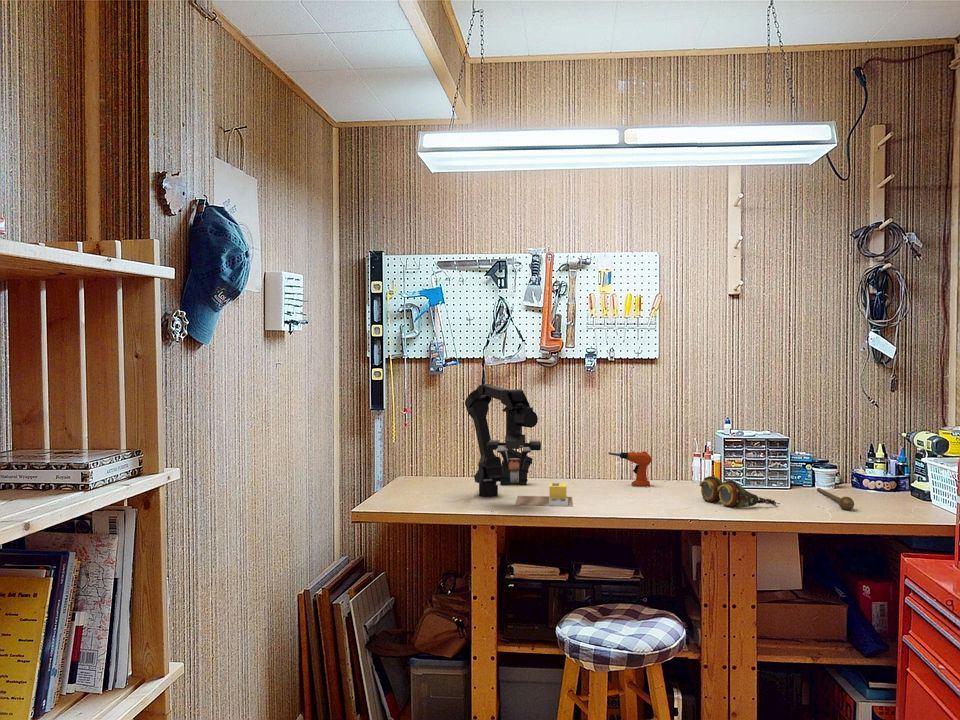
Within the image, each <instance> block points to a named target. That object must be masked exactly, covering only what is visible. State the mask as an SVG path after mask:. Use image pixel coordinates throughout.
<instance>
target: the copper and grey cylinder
mask: <svg viewBox="0 0 960 720" xmlns="http://www.w3.org/2000/svg"><path fill="white" fill-rule="evenodd" d="M520 466H521V459H518V458H510V459H508V470H510V482H511V483H518V482H519V470H520V469H521V468H520Z"/></svg>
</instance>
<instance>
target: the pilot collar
mask: <svg viewBox="0 0 960 720" xmlns="http://www.w3.org/2000/svg"><path fill="white" fill-rule="evenodd" d="M565 506H568V498H555V497H549V506H548V507H565Z"/></svg>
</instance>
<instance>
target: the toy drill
mask: <svg viewBox="0 0 960 720" xmlns="http://www.w3.org/2000/svg"><path fill="white" fill-rule="evenodd" d="M607 454H608V455H611V456H617V457H619V458H620V459H624V460H627V461H629V462H630V463H631V462H632V463H634V464H636V465H635V467H634V469H632V472H634V474H635V475H636V476H635V477H636V478H635V480H633V481H631V486H632V487H637V488H638V487H639V488H642V487H643V488H644V487H647V486H648V487H650V486H651V483H650V482H651V481H650V480H649V479H648V477H647V469H648V466H649V465H650V464H651V463H652V456H651V454H650V453H648V451H645V450H644V451H642V452H640V451H636V452H635V451H630V452H629V451H628V452H620V453H619V452H618V453H615V452H611V451H610V452H608V453H607Z"/></svg>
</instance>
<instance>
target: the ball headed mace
mask: <svg viewBox="0 0 960 720" xmlns="http://www.w3.org/2000/svg"><path fill="white" fill-rule="evenodd" d="M816 492H818V493H820V494H822V495H823V496H826V497H828V498H829V499H831V500H834V501H835V502H838V505H839V508H840V509H841V510H844V511H851V510H853V508H854V507H855V501H854V500H853V498H851V497H849V496H842V497H839V496H837V495H834V494H833V493H831V492H828V490H827V491H826V490H824V489H822V488H820V487H817V488H816Z"/></svg>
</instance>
